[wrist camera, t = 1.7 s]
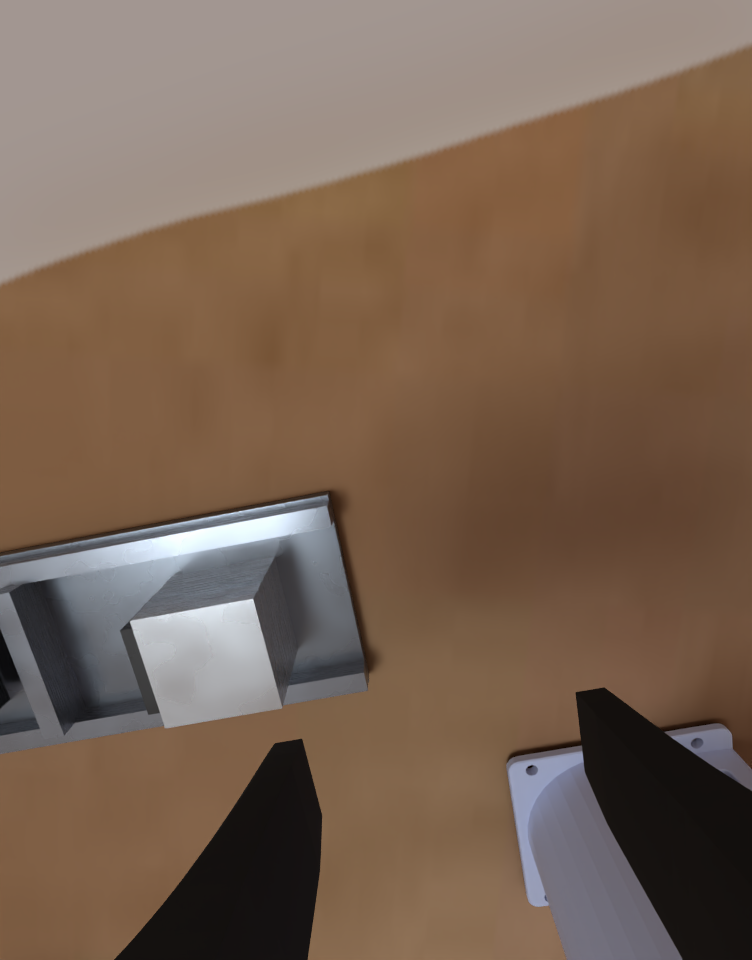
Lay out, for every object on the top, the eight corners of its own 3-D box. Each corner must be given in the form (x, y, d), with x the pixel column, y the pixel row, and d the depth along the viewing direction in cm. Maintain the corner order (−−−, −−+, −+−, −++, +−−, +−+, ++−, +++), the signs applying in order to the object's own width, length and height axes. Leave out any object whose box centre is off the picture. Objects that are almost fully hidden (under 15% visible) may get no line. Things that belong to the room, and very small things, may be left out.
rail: (329, 490, 19) (317, 524, 15) (369, 673, 21) (368, 746, 17) (-165, 583, 20) (-302, 638, 16) (-86, 752, 22) (-191, 840, 18)
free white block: (274, 556, 19) (252, 598, 16) (298, 649, 20) (282, 708, 16) (157, 578, 19) (111, 624, 16) (185, 669, 20) (147, 731, 17)
